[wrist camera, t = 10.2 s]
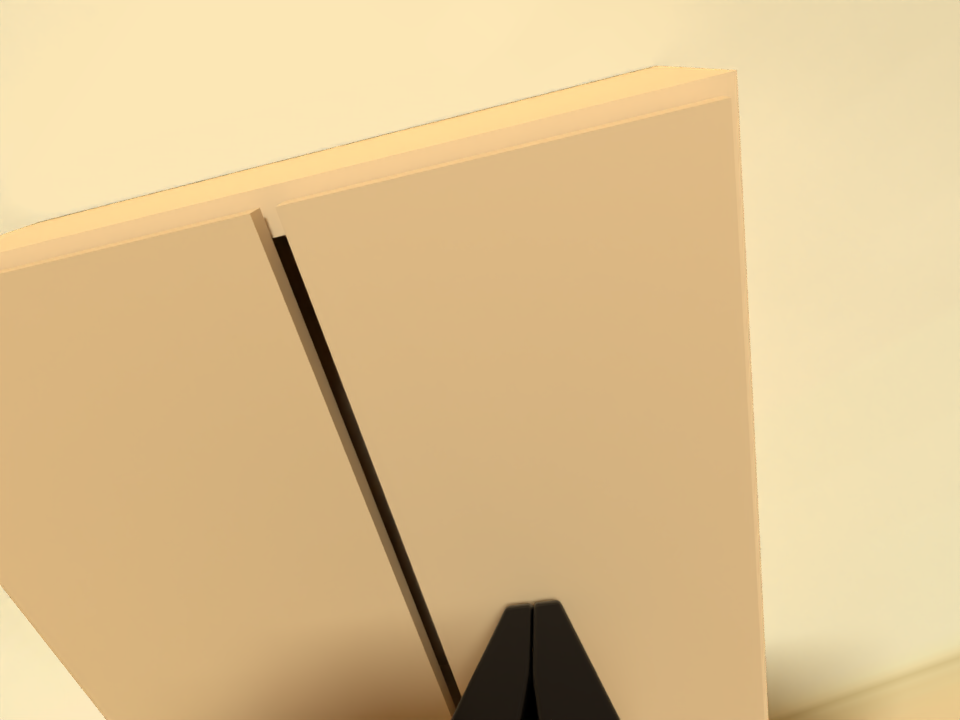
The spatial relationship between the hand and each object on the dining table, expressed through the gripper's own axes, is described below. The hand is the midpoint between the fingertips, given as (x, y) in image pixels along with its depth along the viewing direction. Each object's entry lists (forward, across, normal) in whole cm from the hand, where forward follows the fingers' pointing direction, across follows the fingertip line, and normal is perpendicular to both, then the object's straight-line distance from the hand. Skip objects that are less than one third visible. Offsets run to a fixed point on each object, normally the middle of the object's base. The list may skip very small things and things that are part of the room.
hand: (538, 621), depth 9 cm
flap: (0, -1, 0) cm, 1 cm away
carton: (+5, +2, 0) cm, 5 cm away
